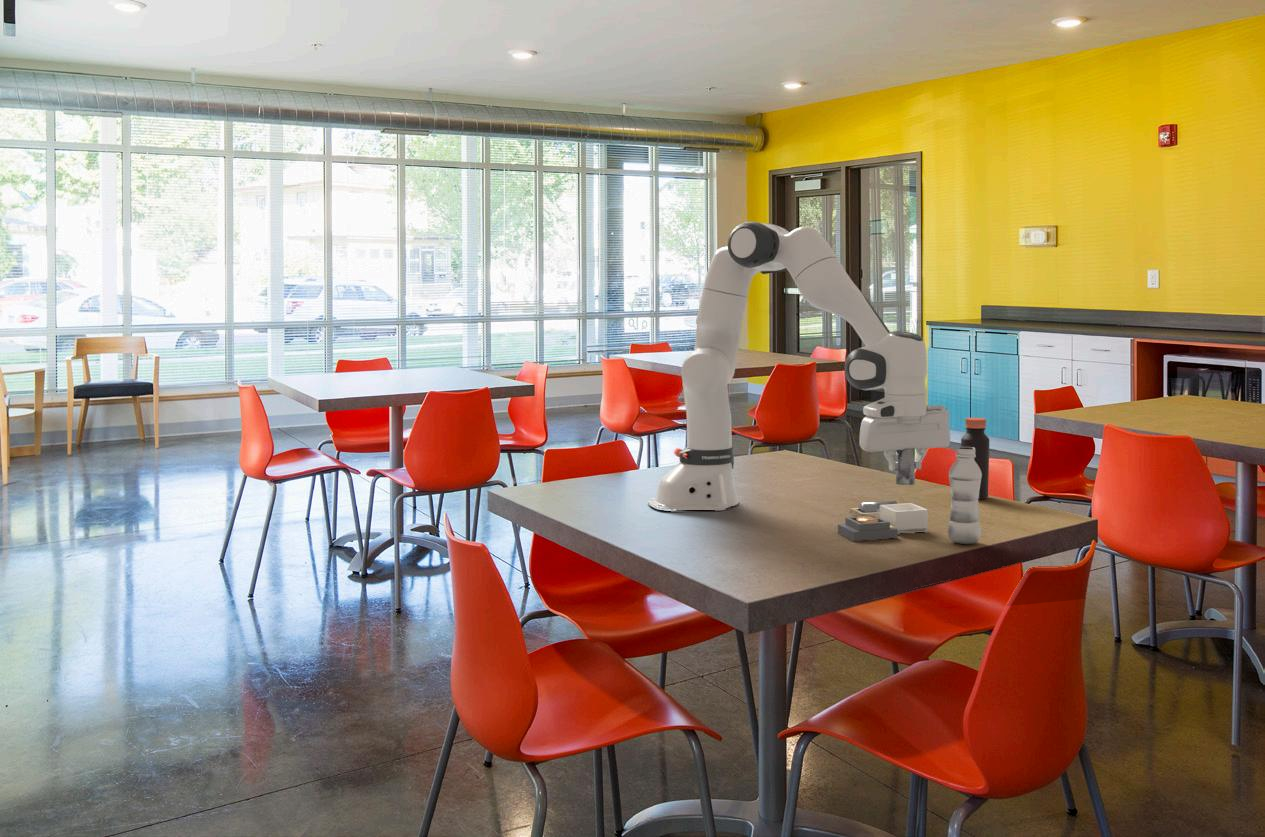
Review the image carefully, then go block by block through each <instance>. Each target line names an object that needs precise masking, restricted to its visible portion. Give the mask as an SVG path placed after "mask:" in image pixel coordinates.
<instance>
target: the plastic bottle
mask: <svg viewBox="0 0 1265 837" xmlns="http://www.w3.org/2000/svg"><path fill="white" fill-rule="evenodd" d="M955 457H956V460H955V461H954V462H953V464H952V466H950V468H949V471H948V481H949V487H950V498H951V500H950V501H951V502H950V503H951V504H950V515H949V521H948V525H947V527H948V528H947V535H948V538H949V540H950V541H951V542H952V543H955V544H960V545H969V544H976V543H978V542H979V540H980V539H981V535H982V527H981V522H980V514H979V512H980V510H979V501H980V500H978V499H979V490H980V484H981V477H982V473H981V470H980V468H979V466H978V465H977V463H976V462H975V460H974V458H975V457H976V455H975V448H973V447H961V446H958V447H956V454H955Z"/></svg>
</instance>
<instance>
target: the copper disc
mask: <svg viewBox="0 0 1265 837" xmlns="http://www.w3.org/2000/svg"><path fill="white" fill-rule="evenodd" d="M856 521H857V522H859V523H874V522H878V518H875V517H858V518H857V519H856Z"/></svg>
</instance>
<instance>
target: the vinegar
mask: <svg viewBox="0 0 1265 837" xmlns="http://www.w3.org/2000/svg"><path fill="white" fill-rule="evenodd" d="M964 421H965V422H964V427H965V429H964V430H966V433H965V434H964V435H963V436H962V437H961V438H960V447H973V448H975V455H976V457H975V458H974V460H975V462H976V463H977V465H978V466H979V468H980V470H981V473H982V477H981V484H980V490H979V499H982V500H986V499H987V497H989V472H990V466H989V465H990V438H989V437H988V436H987V435H986V433H985V431H986V427H987V419H986V418H983V417H966V418H965V419H964ZM985 498H986V499H985Z"/></svg>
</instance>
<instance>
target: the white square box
mask: <svg viewBox="0 0 1265 837" xmlns="http://www.w3.org/2000/svg"><path fill="white" fill-rule="evenodd" d="M928 515H929V509H927V508H925V507H922V506H919V505H917V504H915V503H913V502H908V503H907V502H906V503H905V502H903V503H897V504H888V505H880V518H882V519H884V520H886V521H888V522H890V525H891V526H893V527H894V528H896V529H897V535H901V534H900V533H911V534H916V533H915V532H925V533H927V532H926V531H928V530H929V529H928V525H929V524H928V522H929V516H928Z"/></svg>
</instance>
